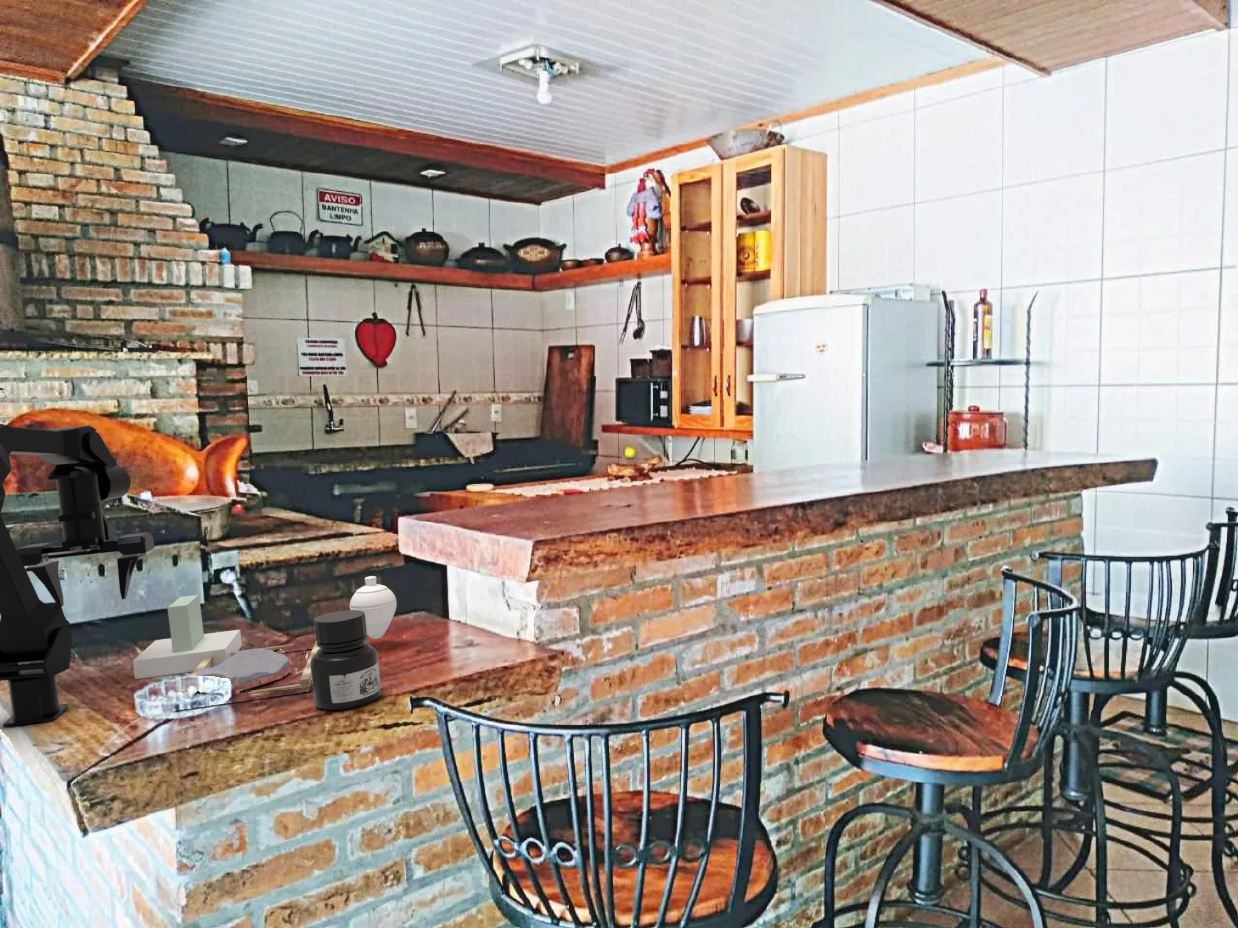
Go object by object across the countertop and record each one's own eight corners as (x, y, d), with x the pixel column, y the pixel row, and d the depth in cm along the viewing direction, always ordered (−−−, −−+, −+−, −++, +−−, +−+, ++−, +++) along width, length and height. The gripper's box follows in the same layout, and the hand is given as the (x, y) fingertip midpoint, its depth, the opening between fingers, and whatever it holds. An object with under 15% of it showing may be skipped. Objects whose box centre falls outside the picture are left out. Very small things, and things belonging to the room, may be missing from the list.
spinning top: (402, 648, 157) (395, 577, 156) (355, 655, 155) (347, 583, 154) (398, 637, 164) (391, 570, 163) (353, 644, 162) (346, 576, 161)
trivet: (227, 666, 154) (225, 648, 154) (134, 679, 151) (132, 661, 151) (242, 645, 168) (240, 629, 168) (157, 657, 165) (155, 640, 165)
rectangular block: (192, 649, 155) (187, 605, 155) (172, 652, 155) (167, 607, 154) (204, 636, 164) (199, 594, 164) (185, 639, 163) (180, 596, 163)
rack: (310, 692, 136) (308, 678, 136) (173, 711, 132) (171, 697, 132) (326, 646, 162) (324, 635, 162) (212, 661, 158) (211, 649, 158)
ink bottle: (343, 716, 124) (333, 626, 123) (298, 709, 129) (289, 622, 128) (397, 693, 132) (388, 609, 131) (353, 687, 137) (344, 606, 136)
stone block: (298, 684, 148) (249, 669, 152) (299, 655, 147) (250, 641, 151) (241, 712, 137) (190, 696, 141) (241, 681, 136) (190, 665, 140)
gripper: (157, 495, 159) (168, 586, 160) (35, 506, 155) (47, 600, 156) (138, 501, 148) (150, 598, 149) (7, 514, 144) (20, 614, 145)
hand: (92, 602), depth 150 cm, fingers open, 9 cm apart
